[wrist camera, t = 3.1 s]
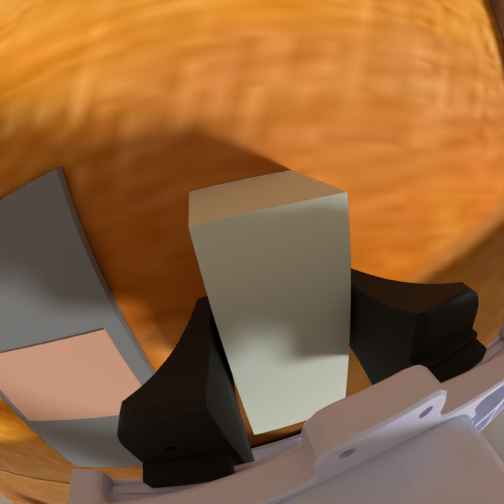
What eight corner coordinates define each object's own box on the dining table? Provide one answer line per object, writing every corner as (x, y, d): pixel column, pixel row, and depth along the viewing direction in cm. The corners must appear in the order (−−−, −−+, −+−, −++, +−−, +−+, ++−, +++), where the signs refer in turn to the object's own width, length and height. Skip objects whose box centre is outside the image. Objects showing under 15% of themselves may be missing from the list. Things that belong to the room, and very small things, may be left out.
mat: (212, 449, 19) (213, 456, 18) (76, 461, 18) (76, 467, 17) (61, 166, 10) (55, 169, 9) (-77, 257, 9) (-83, 262, 8)
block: (309, 343, 16) (344, 406, 12) (236, 364, 16) (254, 434, 11) (290, 169, 12) (347, 192, 8) (189, 191, 12) (188, 227, 7)
